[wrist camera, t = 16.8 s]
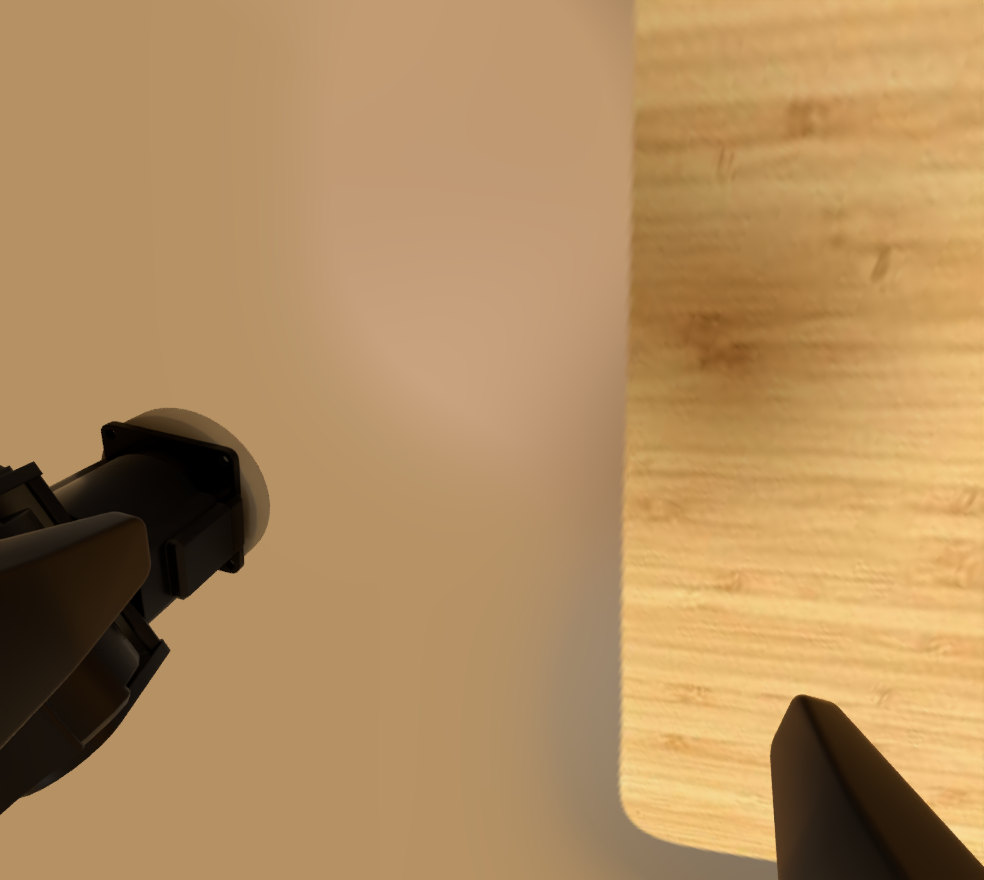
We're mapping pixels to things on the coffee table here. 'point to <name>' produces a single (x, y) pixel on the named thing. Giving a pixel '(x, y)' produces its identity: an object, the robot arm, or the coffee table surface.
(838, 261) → the coffee table surface
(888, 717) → the coffee table surface
